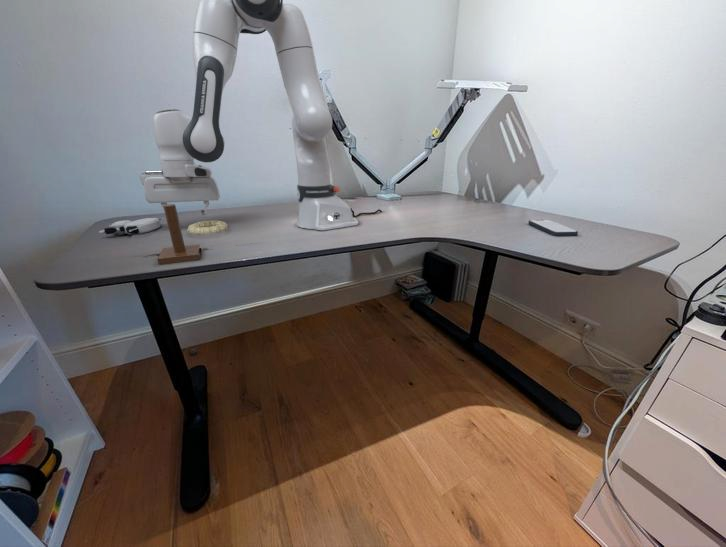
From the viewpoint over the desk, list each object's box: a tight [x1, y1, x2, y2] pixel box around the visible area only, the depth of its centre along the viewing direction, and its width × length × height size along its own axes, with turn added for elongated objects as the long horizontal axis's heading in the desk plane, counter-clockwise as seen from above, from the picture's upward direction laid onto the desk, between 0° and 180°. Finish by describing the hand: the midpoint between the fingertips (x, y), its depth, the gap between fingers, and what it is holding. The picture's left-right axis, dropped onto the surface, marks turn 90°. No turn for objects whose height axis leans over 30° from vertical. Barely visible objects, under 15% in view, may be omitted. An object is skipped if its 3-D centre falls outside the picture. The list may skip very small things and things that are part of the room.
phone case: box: [527, 219, 579, 237], centre depth 110 cm, size 9×2×16 cm
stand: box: [157, 203, 202, 265], centre depth 80 cm, size 9×9×14 cm
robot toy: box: [98, 217, 165, 236], centre depth 101 cm, size 12×4×15 cm
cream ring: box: [186, 220, 229, 235], centre depth 103 cm, size 12×12×3 cm
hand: (188, 215), depth 99 cm, fingers open, 8 cm apart
